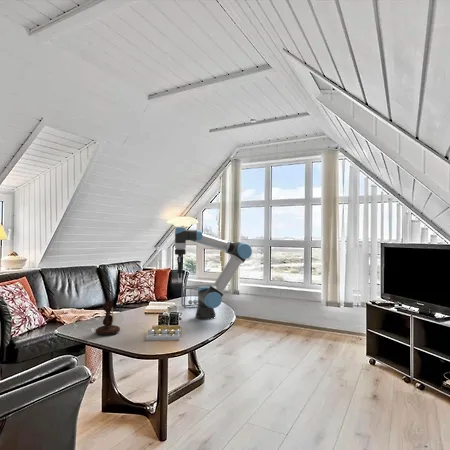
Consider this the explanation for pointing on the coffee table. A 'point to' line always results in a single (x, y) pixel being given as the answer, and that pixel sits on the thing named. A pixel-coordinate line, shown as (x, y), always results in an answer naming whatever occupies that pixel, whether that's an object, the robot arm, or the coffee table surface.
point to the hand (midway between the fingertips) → (179, 282)
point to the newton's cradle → (190, 295)
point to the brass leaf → (166, 328)
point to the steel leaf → (163, 335)
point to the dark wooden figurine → (108, 321)
